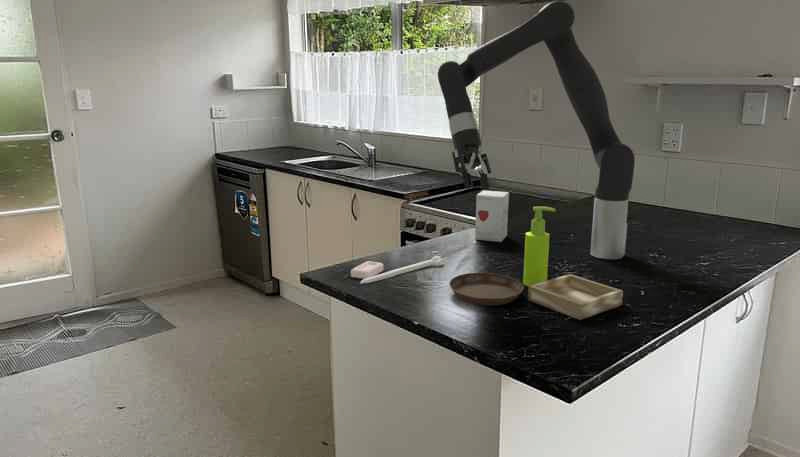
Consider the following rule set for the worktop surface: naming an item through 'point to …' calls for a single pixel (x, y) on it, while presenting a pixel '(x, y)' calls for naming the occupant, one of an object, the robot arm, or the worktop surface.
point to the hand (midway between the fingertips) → (478, 188)
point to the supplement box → (491, 215)
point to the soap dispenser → (536, 249)
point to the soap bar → (367, 270)
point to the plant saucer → (486, 288)
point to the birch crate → (575, 296)
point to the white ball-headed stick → (405, 269)
